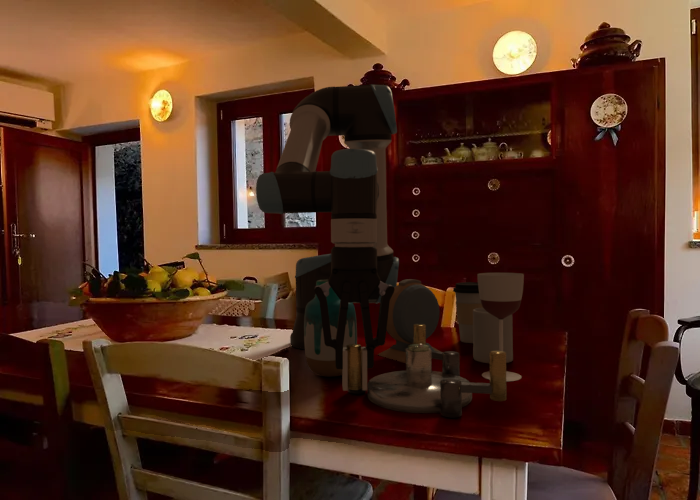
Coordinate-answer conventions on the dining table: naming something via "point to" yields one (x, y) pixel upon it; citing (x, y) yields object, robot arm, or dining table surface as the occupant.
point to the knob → (354, 369)
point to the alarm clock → (410, 316)
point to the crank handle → (448, 358)
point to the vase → (315, 348)
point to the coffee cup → (466, 308)
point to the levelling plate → (408, 395)
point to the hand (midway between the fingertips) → (354, 387)
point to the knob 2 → (474, 387)
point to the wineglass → (501, 302)
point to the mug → (490, 335)
